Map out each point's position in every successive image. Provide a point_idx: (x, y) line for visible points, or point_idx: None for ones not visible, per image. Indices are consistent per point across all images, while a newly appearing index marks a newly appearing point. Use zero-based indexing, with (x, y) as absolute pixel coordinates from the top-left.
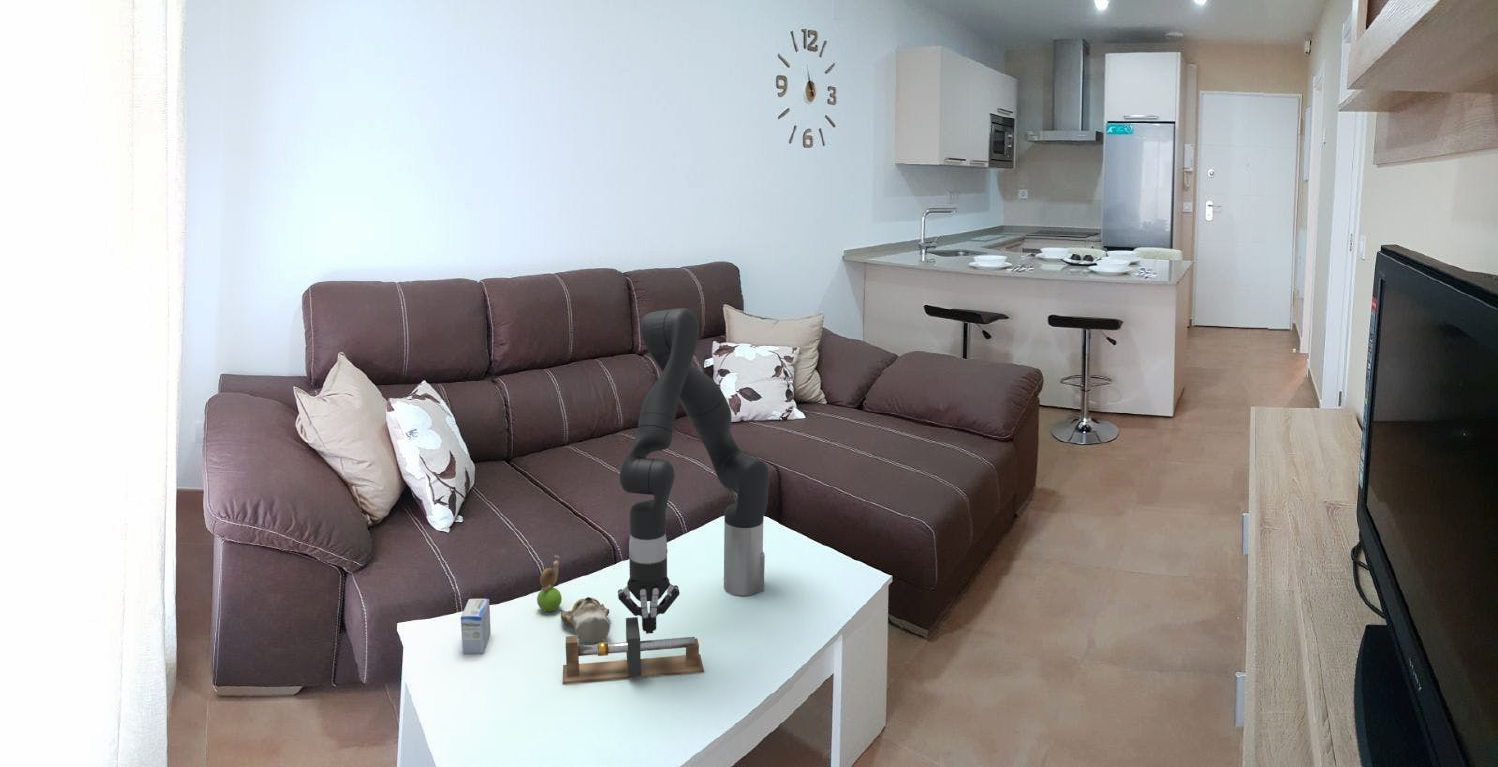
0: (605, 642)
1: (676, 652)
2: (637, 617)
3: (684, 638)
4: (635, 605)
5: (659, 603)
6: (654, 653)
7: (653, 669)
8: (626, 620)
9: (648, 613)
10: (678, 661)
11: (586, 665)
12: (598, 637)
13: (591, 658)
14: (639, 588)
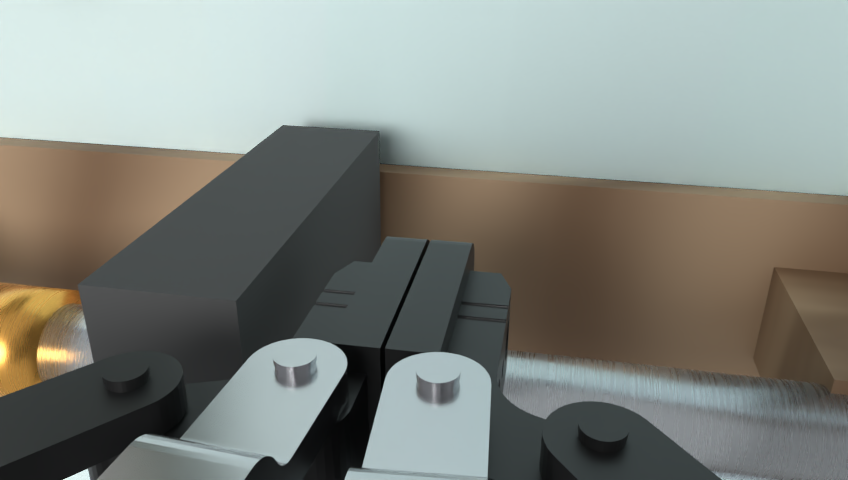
0: (8, 370)
1: (734, 86)
2: (234, 313)
3: (808, 474)
4: (95, 449)
5: (565, 468)
6: (532, 64)
7: None
8: (96, 347)
9: (378, 368)
10: (703, 277)
11: (13, 175)
12: None
13: (36, 40)
14: None
